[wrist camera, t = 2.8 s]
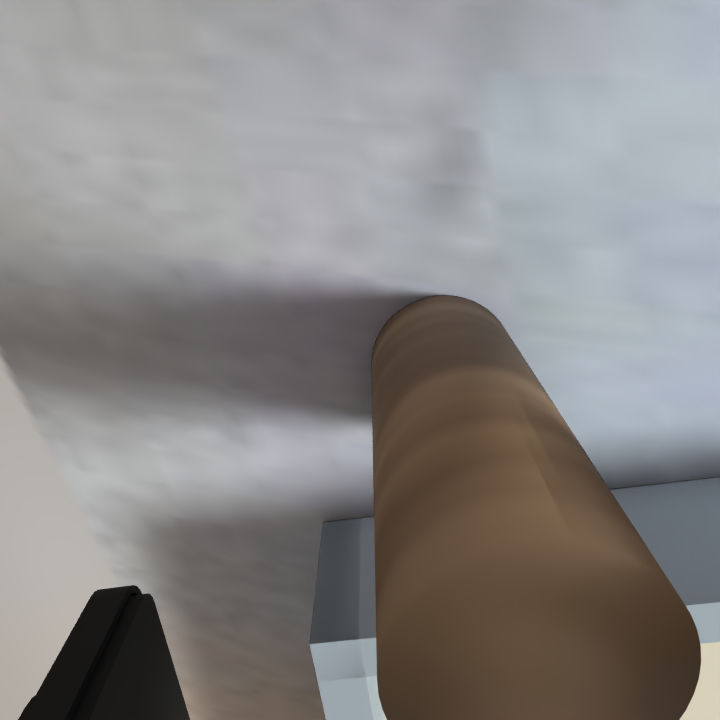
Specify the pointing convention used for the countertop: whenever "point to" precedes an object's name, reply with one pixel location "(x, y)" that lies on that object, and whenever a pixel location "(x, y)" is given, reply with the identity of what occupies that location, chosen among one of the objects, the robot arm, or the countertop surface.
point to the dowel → (505, 544)
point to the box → (643, 508)
